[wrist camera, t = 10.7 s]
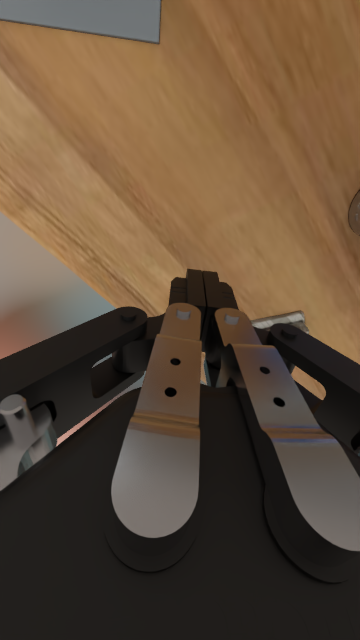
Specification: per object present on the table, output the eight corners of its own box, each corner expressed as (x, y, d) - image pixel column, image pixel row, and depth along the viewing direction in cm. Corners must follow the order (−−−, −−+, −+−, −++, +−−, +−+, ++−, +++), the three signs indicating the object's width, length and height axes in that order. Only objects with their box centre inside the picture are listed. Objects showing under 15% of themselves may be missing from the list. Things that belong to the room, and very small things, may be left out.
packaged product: (312, 322, 44) (312, 363, 49) (302, 307, 48) (302, 347, 53) (210, 343, 47) (220, 379, 52) (208, 327, 51) (217, 363, 56)
